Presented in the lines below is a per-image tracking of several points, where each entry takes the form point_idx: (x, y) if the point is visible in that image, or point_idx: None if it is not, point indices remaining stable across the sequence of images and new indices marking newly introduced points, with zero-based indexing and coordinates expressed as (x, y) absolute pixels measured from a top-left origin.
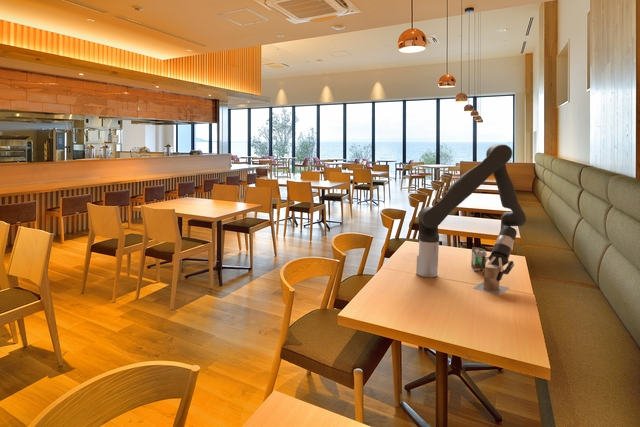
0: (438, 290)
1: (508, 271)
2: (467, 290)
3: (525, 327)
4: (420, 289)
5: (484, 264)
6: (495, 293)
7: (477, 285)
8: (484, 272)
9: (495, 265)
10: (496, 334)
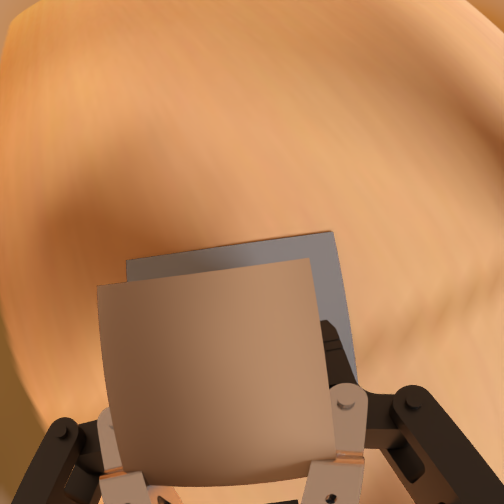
0: (408, 81)
1: (76, 475)
2: (331, 176)
3: (15, 71)
4: (443, 57)
5: (409, 441)
6: (162, 266)
7: (348, 326)
8: (332, 352)
9: (210, 476)
10: (76, 4)
